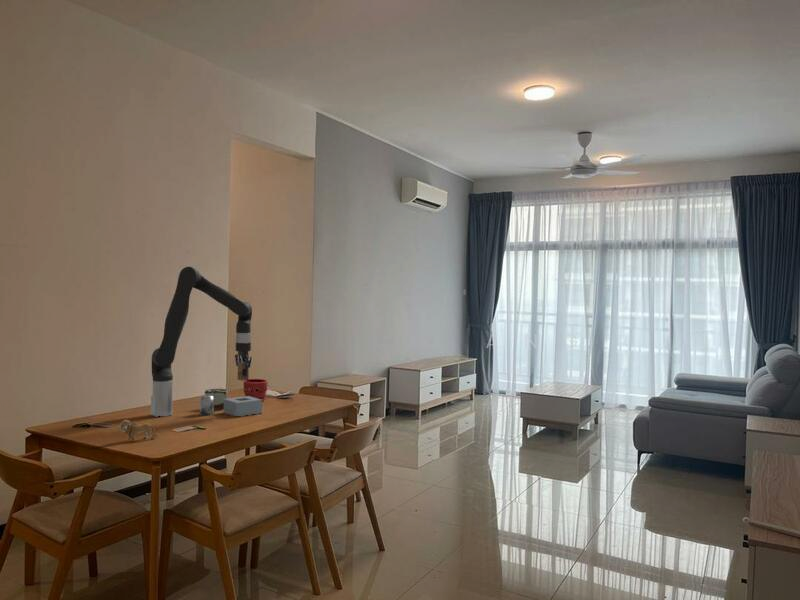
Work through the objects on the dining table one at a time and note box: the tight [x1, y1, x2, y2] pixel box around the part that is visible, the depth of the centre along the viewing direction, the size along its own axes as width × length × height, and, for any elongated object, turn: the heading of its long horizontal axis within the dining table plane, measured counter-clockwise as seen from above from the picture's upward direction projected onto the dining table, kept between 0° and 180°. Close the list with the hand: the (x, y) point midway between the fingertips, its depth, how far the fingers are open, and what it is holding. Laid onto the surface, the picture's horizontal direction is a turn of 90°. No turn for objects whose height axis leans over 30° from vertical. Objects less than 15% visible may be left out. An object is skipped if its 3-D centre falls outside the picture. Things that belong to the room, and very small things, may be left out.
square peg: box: [237, 362, 250, 382], centre depth 304 cm, size 4×4×9 cm
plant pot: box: [243, 378, 268, 402], centre depth 338 cm, size 13×13×12 cm
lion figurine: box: [119, 419, 158, 443], centre depth 247 cm, size 15×5×9 cm, turn 130°
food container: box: [203, 388, 229, 410], centre depth 317 cm, size 12×6×10 cm, turn 84°
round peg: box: [199, 394, 215, 416], centre depth 301 cm, size 7×7×9 cm
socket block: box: [223, 395, 263, 418], centre depth 304 cm, size 14×14×7 cm
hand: (243, 375), depth 304 cm, fingers closed on square peg, 4 cm apart
